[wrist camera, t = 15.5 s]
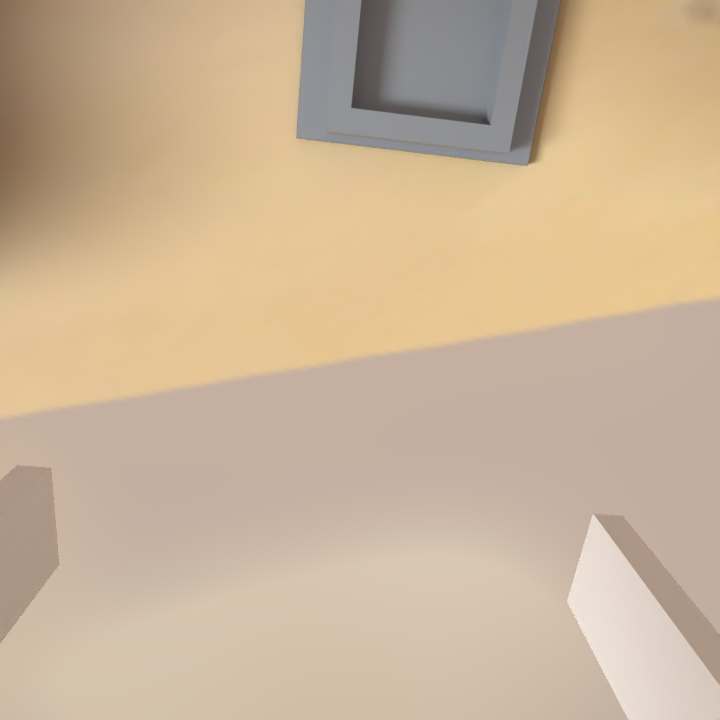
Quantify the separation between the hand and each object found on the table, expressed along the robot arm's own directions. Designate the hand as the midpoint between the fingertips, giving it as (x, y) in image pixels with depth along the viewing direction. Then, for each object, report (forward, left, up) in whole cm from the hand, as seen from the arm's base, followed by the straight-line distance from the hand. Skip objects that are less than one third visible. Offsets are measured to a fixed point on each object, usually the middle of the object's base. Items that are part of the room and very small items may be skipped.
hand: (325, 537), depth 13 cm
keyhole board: (+4, +20, -29) cm, 35 cm away
